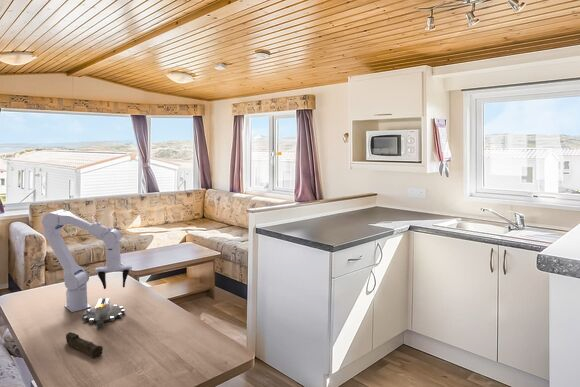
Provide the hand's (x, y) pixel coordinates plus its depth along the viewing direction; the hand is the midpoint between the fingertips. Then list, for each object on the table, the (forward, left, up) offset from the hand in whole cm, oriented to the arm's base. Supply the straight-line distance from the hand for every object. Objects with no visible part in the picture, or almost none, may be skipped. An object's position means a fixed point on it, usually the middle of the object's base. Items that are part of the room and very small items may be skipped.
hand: (114, 287), depth 179 cm
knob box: (+8, -9, -8) cm, 14 cm away
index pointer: (+15, -13, -9) cm, 22 cm away
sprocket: (+5, -7, -9) cm, 13 cm away
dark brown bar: (+28, -25, -10) cm, 39 cm away
